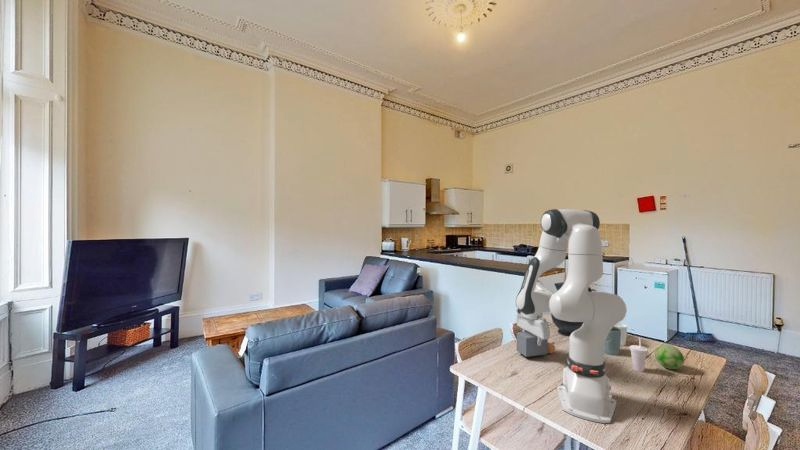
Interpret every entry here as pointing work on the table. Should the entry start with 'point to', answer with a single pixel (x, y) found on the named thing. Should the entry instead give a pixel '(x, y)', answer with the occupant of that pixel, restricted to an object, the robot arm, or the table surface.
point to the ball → (551, 348)
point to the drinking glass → (613, 342)
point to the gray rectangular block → (530, 344)
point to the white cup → (622, 333)
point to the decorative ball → (669, 356)
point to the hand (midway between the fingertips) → (532, 341)
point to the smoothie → (638, 356)
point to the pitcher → (566, 326)
